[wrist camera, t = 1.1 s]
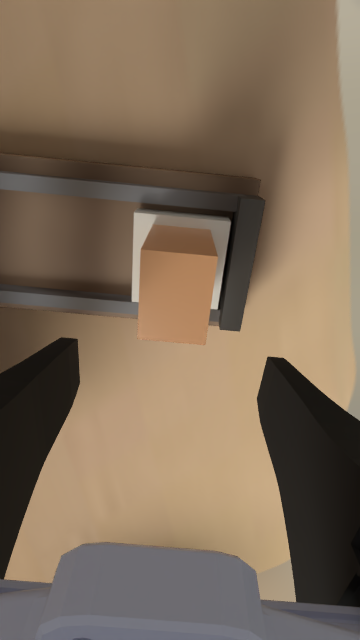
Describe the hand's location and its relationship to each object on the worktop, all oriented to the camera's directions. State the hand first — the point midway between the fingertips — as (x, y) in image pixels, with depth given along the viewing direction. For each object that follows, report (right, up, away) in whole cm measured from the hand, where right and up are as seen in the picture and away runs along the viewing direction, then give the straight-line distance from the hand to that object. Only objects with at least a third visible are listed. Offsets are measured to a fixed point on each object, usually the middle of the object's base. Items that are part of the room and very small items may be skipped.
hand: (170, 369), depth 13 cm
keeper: (0, +6, +7) cm, 9 cm away
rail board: (-6, +7, +8) cm, 12 cm away
